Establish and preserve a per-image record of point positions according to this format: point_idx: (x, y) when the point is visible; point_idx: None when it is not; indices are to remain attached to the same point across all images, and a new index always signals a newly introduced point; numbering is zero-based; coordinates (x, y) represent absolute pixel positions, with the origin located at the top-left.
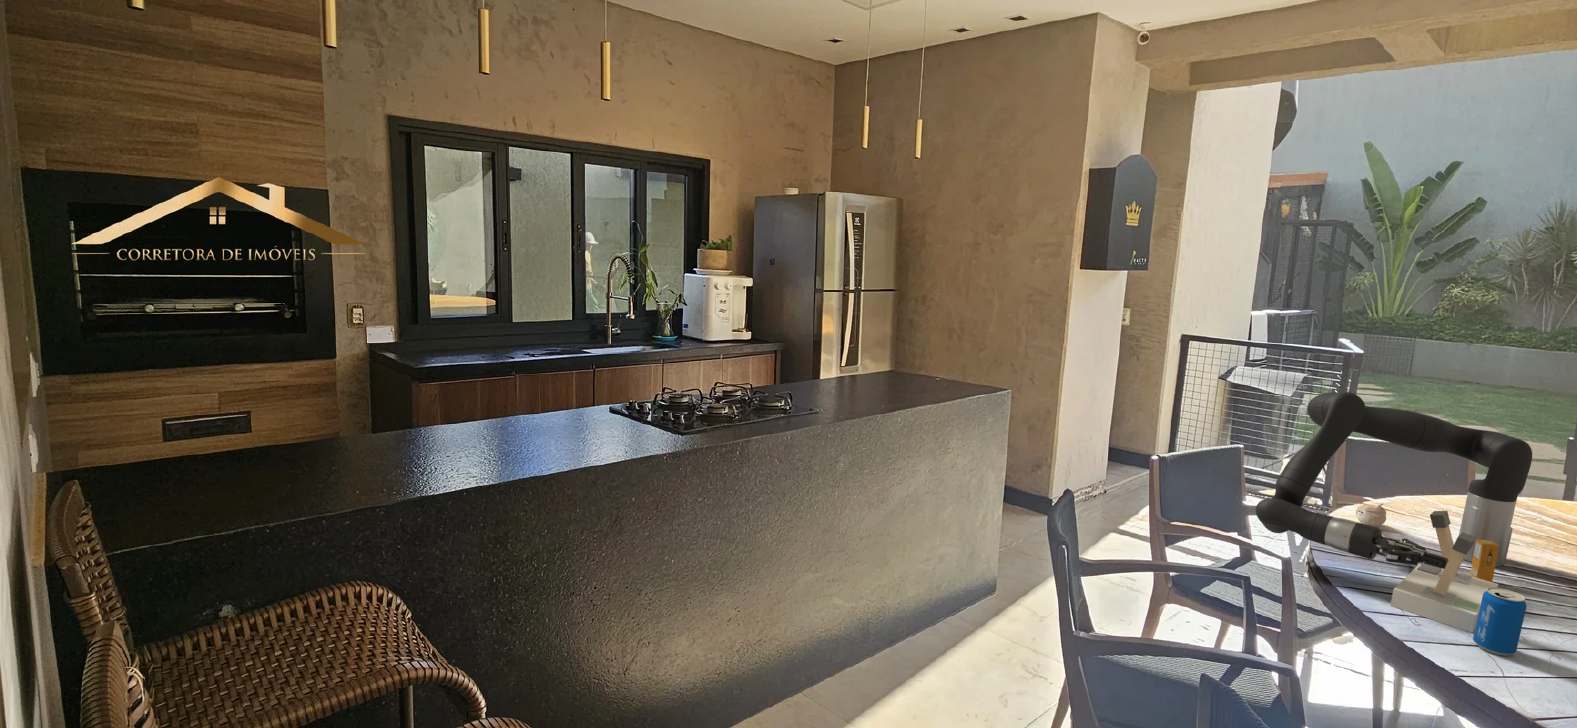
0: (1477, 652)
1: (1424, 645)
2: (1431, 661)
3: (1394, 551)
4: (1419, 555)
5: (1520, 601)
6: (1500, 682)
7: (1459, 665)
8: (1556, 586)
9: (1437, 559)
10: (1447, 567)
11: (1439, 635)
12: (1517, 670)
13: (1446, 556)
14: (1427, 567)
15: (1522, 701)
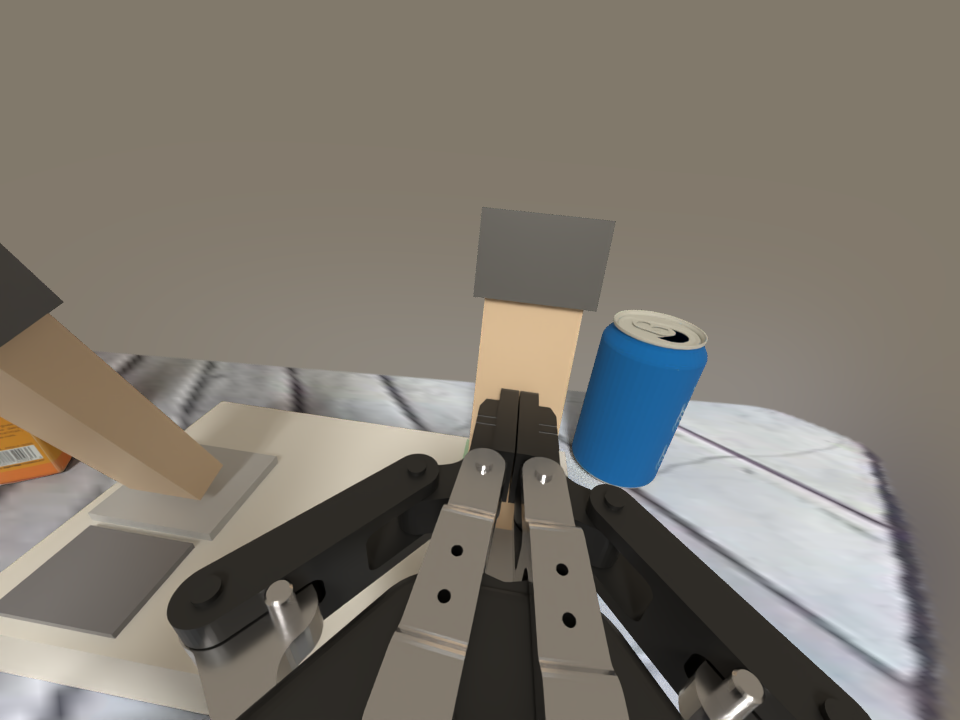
0: (676, 488)
1: (824, 604)
2: (906, 581)
3: (801, 675)
4: (572, 494)
5: (670, 317)
6: (779, 462)
7: (816, 521)
8: None
9: (543, 423)
10: (559, 412)
11: None
12: (675, 438)
13: (163, 449)
14: (82, 583)
15: (808, 441)
